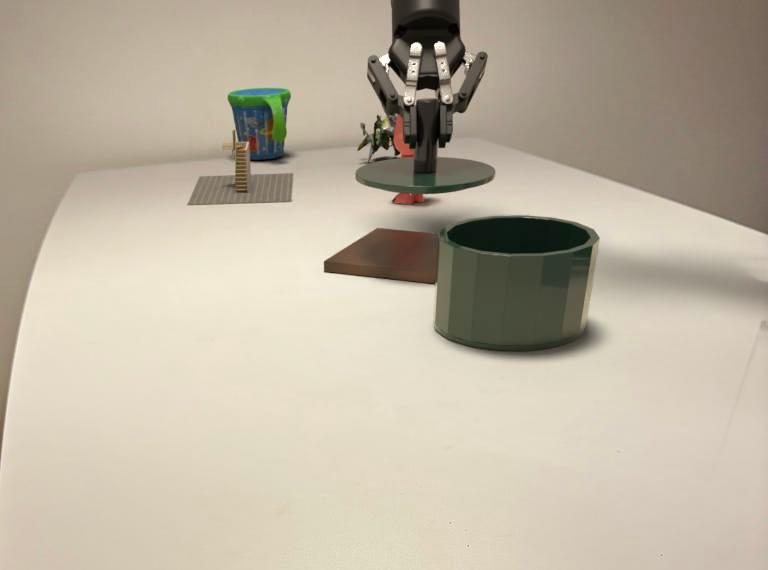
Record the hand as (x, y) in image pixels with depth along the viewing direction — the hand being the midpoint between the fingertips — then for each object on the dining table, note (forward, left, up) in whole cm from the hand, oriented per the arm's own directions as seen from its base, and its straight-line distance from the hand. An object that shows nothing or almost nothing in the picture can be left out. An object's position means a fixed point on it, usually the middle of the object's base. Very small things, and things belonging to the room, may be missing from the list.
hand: (428, 143), depth 103 cm
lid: (+1, -2, -4) cm, 4 cm away
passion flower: (+26, -54, -13) cm, 61 cm away
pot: (-15, +16, -13) cm, 26 cm away
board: (+1, -2, -13) cm, 13 cm away
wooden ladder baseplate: (+41, -30, -13) cm, 52 cm away
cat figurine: (+13, -30, -13) cm, 35 cm away
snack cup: (+50, -53, -13) cm, 74 cm away
